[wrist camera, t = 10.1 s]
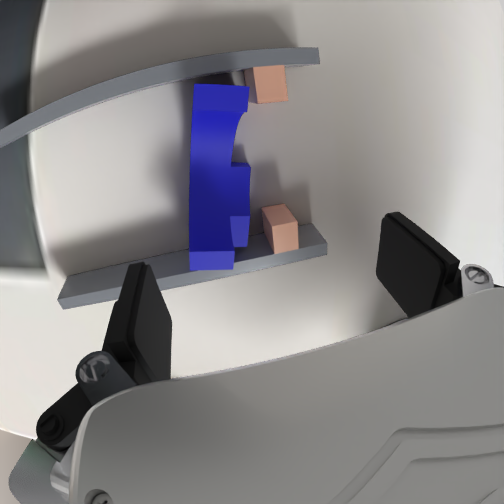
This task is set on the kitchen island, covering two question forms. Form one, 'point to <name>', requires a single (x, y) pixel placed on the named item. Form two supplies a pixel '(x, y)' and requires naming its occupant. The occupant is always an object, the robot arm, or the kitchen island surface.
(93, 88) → the guide channel
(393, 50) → the kitchen island surface
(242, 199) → the cable clip
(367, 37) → the kitchen island surface
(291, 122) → the kitchen island surface
